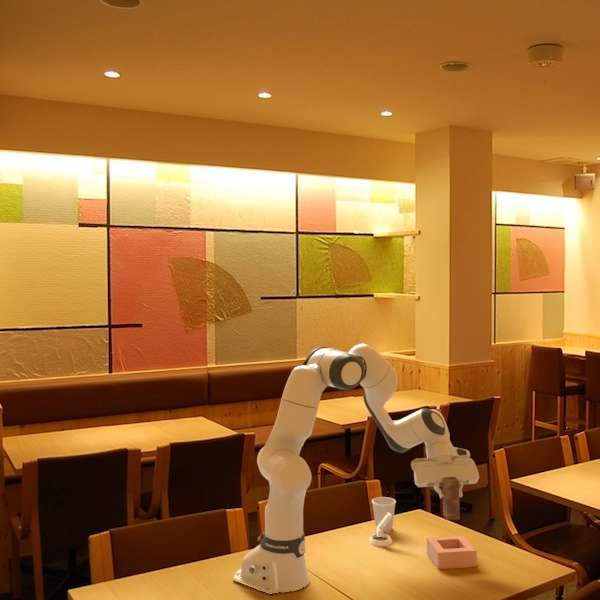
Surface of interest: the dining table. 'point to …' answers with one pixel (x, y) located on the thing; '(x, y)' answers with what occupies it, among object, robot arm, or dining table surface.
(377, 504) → the dixie cup
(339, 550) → the dining table surface
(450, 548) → the terracotta well
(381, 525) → the white lever
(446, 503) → the walnut block
